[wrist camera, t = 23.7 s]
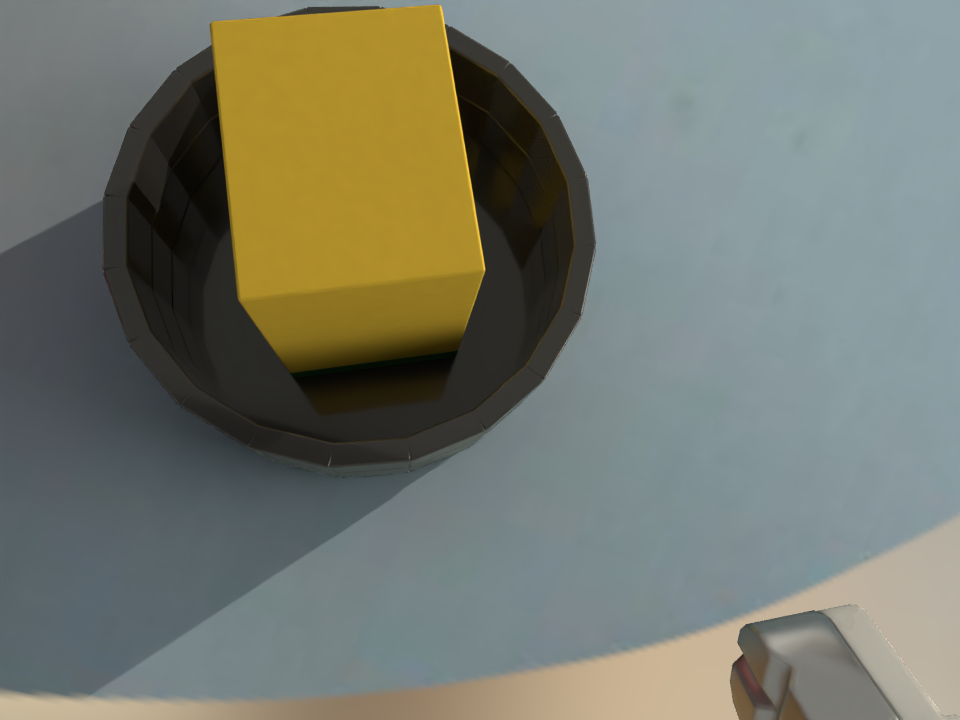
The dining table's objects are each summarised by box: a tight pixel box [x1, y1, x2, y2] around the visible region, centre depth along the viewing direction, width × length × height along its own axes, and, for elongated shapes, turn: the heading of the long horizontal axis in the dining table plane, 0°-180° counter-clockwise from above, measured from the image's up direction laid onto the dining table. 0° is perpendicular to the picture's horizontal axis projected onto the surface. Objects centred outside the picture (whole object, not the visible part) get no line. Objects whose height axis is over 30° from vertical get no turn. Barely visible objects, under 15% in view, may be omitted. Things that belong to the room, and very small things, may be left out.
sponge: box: [210, 5, 485, 378], centre depth 20 cm, size 6×5×8 cm
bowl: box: [103, 6, 596, 478], centre depth 22 cm, size 12×12×4 cm
